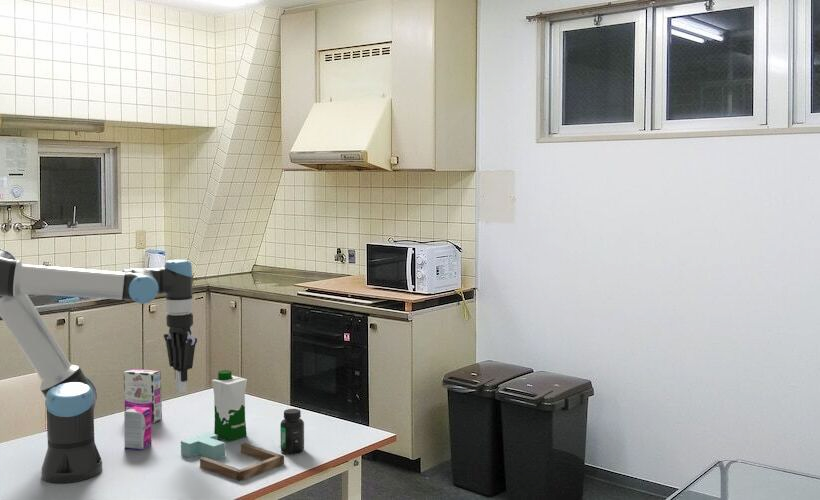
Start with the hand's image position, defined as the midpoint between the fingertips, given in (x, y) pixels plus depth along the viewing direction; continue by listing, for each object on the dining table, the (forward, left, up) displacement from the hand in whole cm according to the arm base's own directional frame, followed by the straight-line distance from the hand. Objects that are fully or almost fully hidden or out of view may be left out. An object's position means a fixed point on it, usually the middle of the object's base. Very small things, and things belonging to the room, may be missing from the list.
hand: (181, 391), depth 238 cm
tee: (0, -12, -16) cm, 20 cm away
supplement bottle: (+17, -29, -17) cm, 37 cm away
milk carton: (+14, -5, -17) cm, 22 cm away
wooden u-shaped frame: (0, -26, -16) cm, 31 cm away
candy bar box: (+7, +30, -17) cm, 35 cm away
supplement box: (-9, +9, -17) cm, 21 cm away
